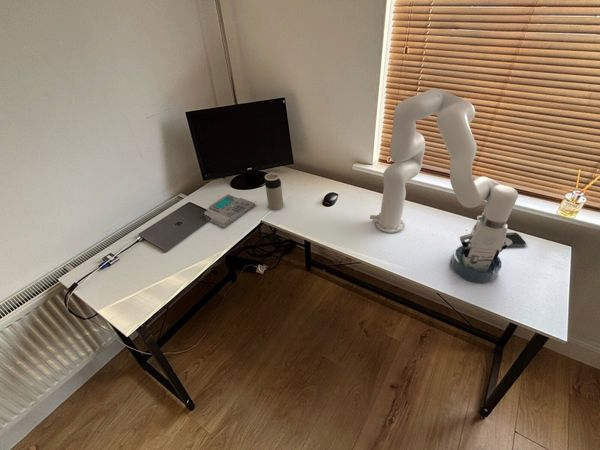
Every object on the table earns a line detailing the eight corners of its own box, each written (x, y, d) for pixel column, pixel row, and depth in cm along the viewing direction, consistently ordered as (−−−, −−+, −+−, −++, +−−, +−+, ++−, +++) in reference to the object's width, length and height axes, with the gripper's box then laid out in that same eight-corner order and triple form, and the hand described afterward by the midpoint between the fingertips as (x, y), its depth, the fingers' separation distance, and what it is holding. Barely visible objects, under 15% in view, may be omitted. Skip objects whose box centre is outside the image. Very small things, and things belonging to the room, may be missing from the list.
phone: (481, 233, 133) (516, 232, 132) (481, 235, 133) (515, 234, 133) (490, 246, 127) (527, 244, 126) (489, 248, 127) (526, 246, 127)
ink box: (462, 270, 118) (471, 248, 111) (460, 261, 122) (468, 239, 115) (486, 273, 116) (497, 250, 109) (483, 263, 120) (493, 241, 113)
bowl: (454, 281, 115) (458, 271, 111) (447, 252, 127) (450, 242, 124) (502, 286, 112) (507, 276, 108) (489, 255, 124) (494, 245, 121)
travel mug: (283, 210, 158) (279, 179, 146) (267, 210, 158) (263, 180, 147) (283, 201, 164) (280, 171, 153) (269, 202, 164) (264, 172, 153)
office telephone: (223, 224, 147) (196, 212, 156) (224, 229, 148) (197, 216, 158) (255, 201, 161) (228, 190, 170) (255, 205, 163) (229, 194, 172)
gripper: (468, 225, 103) (456, 260, 114) (525, 228, 100) (507, 265, 110) (464, 212, 109) (452, 247, 119) (517, 215, 106) (501, 251, 116)
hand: (478, 256), depth 115 cm, fingers open, 9 cm apart
